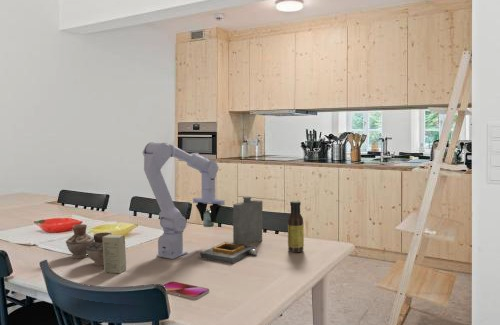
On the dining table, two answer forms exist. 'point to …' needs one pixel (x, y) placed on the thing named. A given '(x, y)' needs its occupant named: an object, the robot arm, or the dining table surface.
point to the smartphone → (185, 290)
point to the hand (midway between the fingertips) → (208, 221)
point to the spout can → (207, 219)
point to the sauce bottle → (295, 228)
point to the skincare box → (114, 253)
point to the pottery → (86, 244)
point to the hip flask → (247, 221)
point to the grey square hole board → (228, 252)
